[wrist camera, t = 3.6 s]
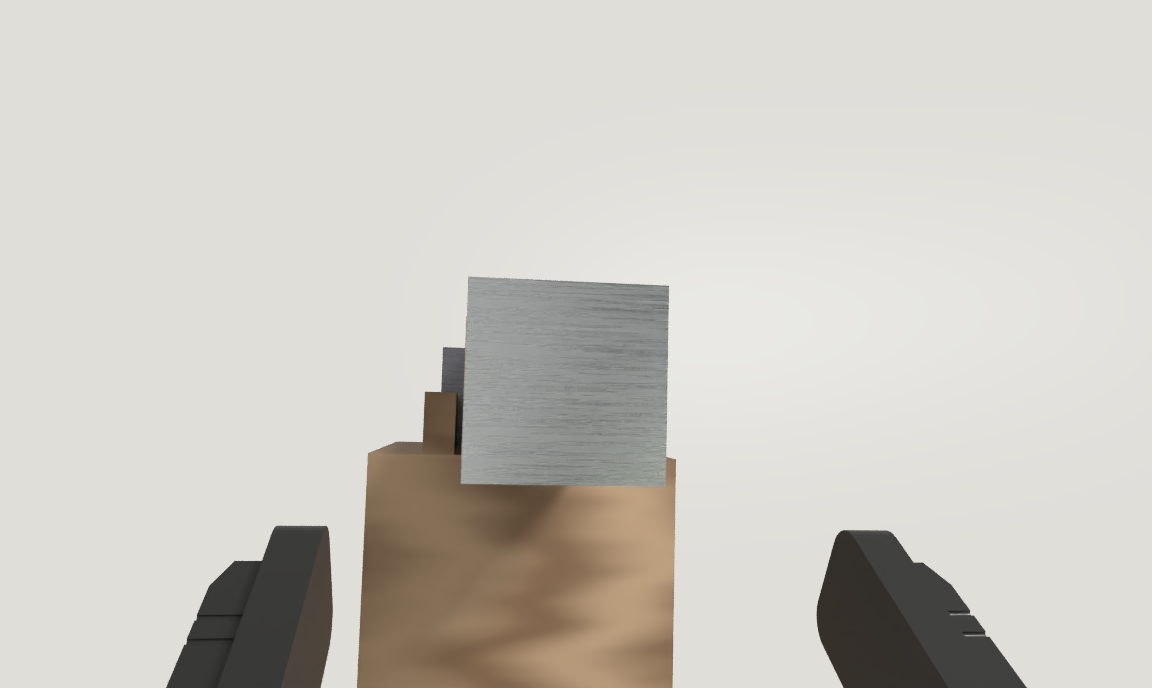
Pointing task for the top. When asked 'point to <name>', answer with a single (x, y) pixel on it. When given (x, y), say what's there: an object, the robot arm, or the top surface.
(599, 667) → the large rectangular wooden block
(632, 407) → the grey rectangular bar
